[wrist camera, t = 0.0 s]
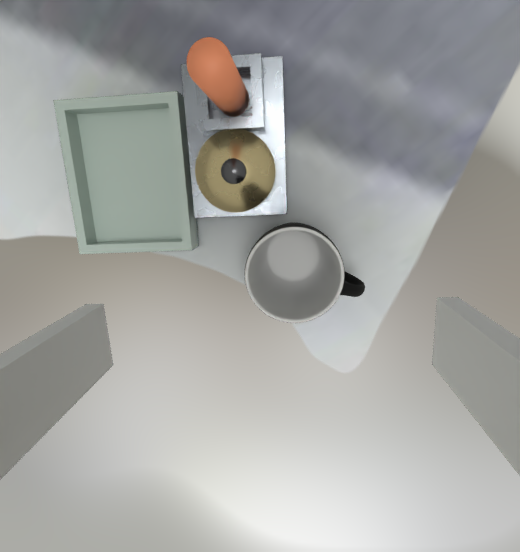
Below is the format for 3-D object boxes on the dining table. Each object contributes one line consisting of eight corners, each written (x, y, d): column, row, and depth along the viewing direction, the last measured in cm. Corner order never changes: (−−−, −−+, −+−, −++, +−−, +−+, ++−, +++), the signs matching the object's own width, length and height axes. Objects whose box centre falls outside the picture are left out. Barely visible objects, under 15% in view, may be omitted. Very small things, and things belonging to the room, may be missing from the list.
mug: (245, 278, 43) (231, 305, 33) (268, 205, 40) (261, 212, 31) (340, 310, 43) (354, 347, 33) (369, 239, 40) (394, 257, 31)
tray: (70, 106, 40) (53, 100, 37) (185, 98, 38) (176, 91, 36) (93, 249, 43) (79, 254, 41) (198, 245, 42) (191, 250, 39)
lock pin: (216, 83, 35) (184, 39, 25) (248, 80, 35) (229, 35, 25) (218, 117, 36) (188, 89, 26) (249, 115, 36) (233, 86, 25)
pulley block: (286, 212, 40) (286, 216, 35) (200, 215, 41) (186, 220, 36) (282, 64, 37) (281, 44, 32) (187, 72, 38) (171, 53, 32)
